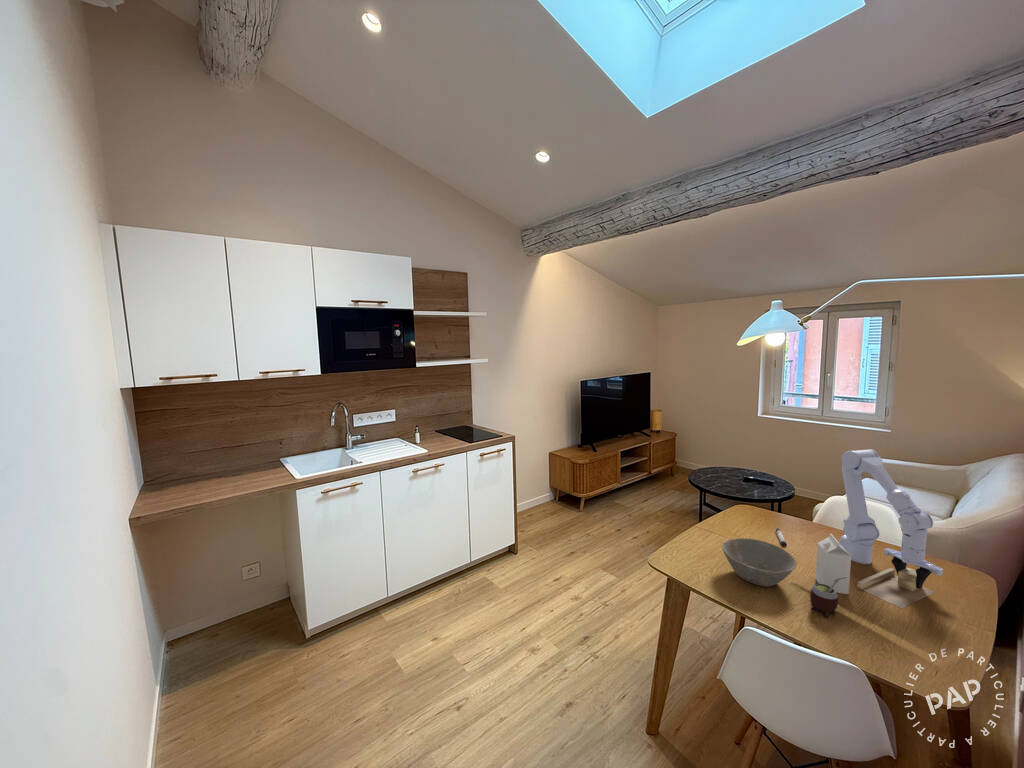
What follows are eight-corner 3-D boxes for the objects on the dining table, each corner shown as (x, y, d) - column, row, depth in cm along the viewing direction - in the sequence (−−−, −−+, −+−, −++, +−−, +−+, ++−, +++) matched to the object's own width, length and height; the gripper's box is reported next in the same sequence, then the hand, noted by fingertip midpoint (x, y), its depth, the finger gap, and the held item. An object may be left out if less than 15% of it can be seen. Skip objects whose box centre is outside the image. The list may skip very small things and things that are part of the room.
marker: (786, 547, 167) (787, 543, 167) (781, 546, 168) (781, 542, 167) (779, 531, 181) (779, 527, 180) (774, 530, 181) (774, 526, 181)
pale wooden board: (856, 591, 137) (857, 581, 137) (889, 576, 145) (890, 567, 144) (901, 613, 126) (902, 602, 126) (934, 596, 134) (935, 586, 133)
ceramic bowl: (722, 556, 161) (723, 533, 160) (791, 571, 149) (792, 546, 148) (719, 586, 142) (720, 560, 141) (798, 606, 130) (800, 578, 129)
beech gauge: (897, 585, 137) (898, 571, 137) (907, 580, 140) (908, 567, 139) (912, 591, 134) (913, 577, 133) (922, 587, 136) (923, 573, 135)
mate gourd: (806, 602, 132) (809, 559, 131) (836, 607, 129) (838, 564, 128) (813, 617, 125) (816, 572, 124) (844, 623, 122) (848, 577, 121)
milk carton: (839, 585, 140) (842, 534, 138) (848, 598, 134) (852, 544, 132) (815, 582, 143) (818, 532, 140) (823, 594, 136) (826, 541, 134)
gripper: (880, 539, 140) (877, 575, 142) (936, 559, 127) (932, 599, 128) (891, 535, 143) (888, 570, 144) (947, 554, 129) (943, 593, 131)
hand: (910, 583), depth 137 cm, fingers closed on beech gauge, 4 cm apart
